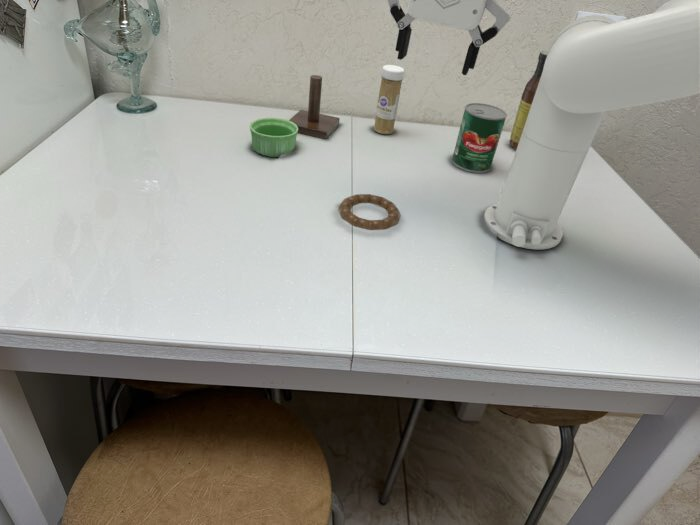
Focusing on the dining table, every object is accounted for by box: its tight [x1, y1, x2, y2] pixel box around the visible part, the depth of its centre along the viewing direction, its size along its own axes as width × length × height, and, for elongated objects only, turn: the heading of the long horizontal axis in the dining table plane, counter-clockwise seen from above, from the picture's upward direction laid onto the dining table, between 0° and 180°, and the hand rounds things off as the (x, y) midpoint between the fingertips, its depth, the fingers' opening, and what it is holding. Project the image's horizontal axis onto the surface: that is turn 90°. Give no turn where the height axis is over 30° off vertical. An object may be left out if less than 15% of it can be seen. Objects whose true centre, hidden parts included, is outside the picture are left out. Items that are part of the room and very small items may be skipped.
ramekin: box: [249, 117, 299, 158], centre depth 93 cm, size 9×9×4 cm
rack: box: [288, 74, 340, 140], centre depth 101 cm, size 9×9×10 cm
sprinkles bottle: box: [373, 64, 405, 135], centre depth 103 cm, size 5×5×14 cm
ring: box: [337, 193, 401, 231], centre depth 77 cm, size 10×10×2 cm
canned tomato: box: [451, 102, 508, 174], centre depth 95 cm, size 8×8×11 cm
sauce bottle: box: [509, 50, 549, 150], centre depth 103 cm, size 6×6×20 cm
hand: (433, 65), depth 72 cm, fingers open, 9 cm apart
